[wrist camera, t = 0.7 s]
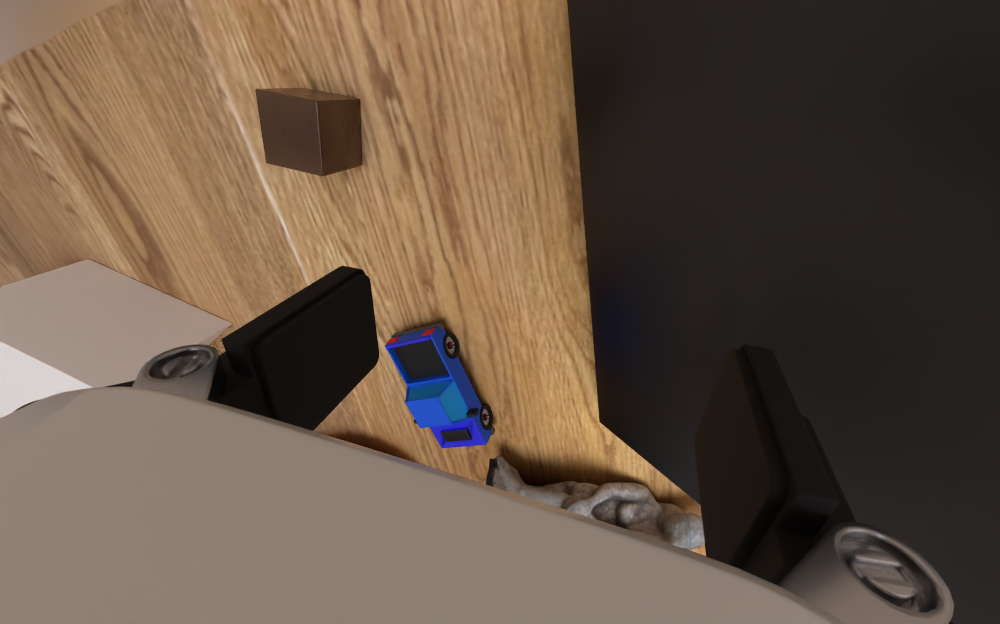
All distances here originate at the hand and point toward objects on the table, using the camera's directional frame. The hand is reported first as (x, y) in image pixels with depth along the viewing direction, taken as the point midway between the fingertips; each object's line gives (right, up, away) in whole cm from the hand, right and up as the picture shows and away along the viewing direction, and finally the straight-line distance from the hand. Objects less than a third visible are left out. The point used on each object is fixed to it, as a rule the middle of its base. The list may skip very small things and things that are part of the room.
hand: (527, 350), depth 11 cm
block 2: (-13, +15, +20) cm, 28 cm away
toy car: (-5, -5, +28) cm, 29 cm away
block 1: (-46, -1, +41) cm, 61 cm away
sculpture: (+9, -16, +30) cm, 35 cm away
